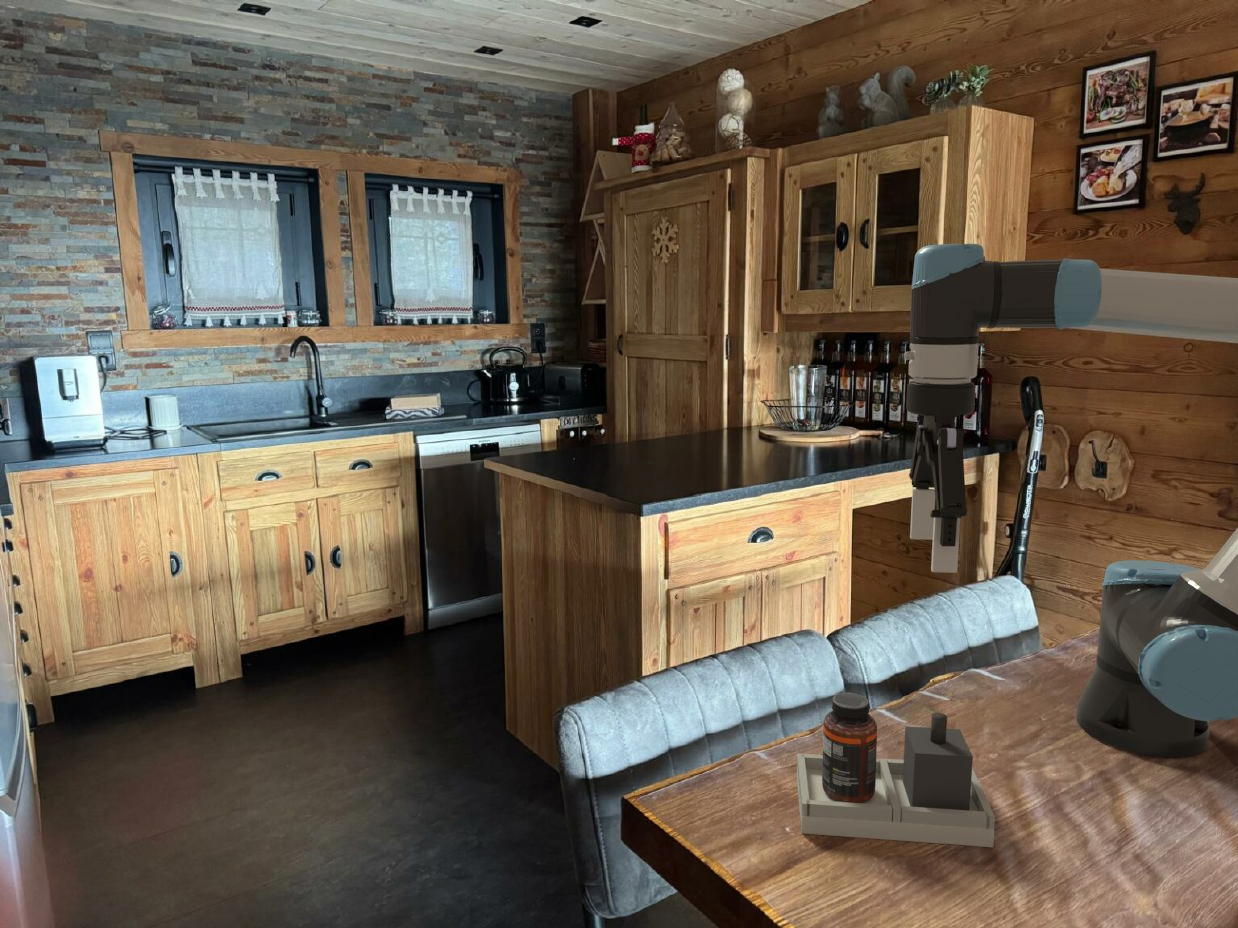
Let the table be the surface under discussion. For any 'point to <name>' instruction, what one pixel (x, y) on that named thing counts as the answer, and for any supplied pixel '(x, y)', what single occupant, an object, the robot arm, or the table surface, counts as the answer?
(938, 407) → the robot arm
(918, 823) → the two-section tray
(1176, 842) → the table surface
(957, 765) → the single-knob plug
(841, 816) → the free socket
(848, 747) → the supplement bottle
